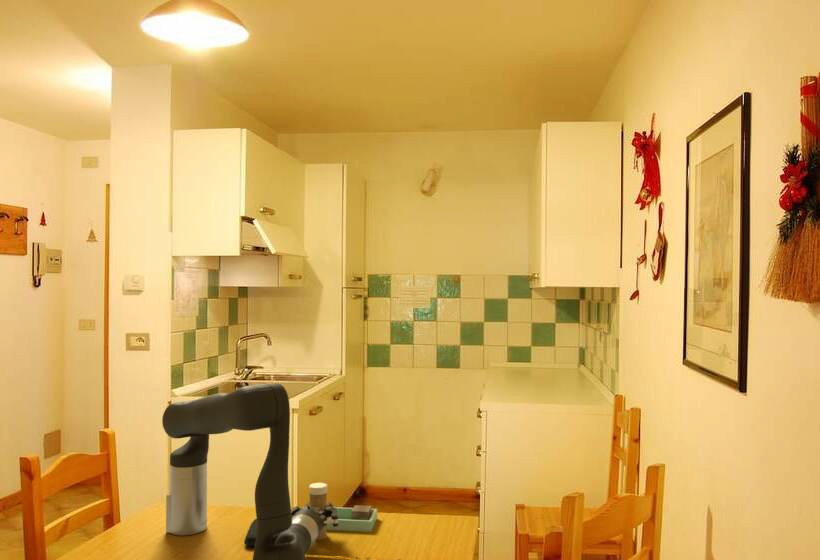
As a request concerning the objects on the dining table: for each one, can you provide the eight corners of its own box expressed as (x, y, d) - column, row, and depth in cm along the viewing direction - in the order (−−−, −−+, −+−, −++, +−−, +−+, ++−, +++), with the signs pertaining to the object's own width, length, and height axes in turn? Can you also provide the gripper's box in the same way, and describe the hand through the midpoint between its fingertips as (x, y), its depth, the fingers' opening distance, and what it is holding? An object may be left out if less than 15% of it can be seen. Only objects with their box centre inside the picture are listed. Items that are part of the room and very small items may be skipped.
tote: (315, 531, 163) (315, 519, 163) (324, 518, 172) (324, 506, 172) (371, 534, 161) (371, 521, 161) (377, 520, 170) (377, 508, 170)
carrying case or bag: (287, 549, 153) (293, 526, 167) (287, 536, 153) (293, 514, 167) (242, 551, 152) (252, 527, 166) (242, 538, 152) (252, 516, 166)
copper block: (351, 526, 165) (351, 511, 165) (354, 520, 169) (354, 505, 169) (368, 527, 164) (368, 511, 164) (371, 520, 169) (371, 505, 169)
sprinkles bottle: (330, 539, 158) (330, 485, 158) (313, 543, 155) (313, 488, 155) (322, 533, 161) (322, 480, 162) (305, 537, 159) (306, 483, 159)
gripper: (332, 516, 143) (348, 492, 160) (271, 513, 145) (293, 490, 162) (332, 549, 143) (348, 521, 160) (271, 546, 145) (293, 519, 162)
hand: (320, 505), depth 161 cm, fingers closed on sprinkles bottle, 4 cm apart
